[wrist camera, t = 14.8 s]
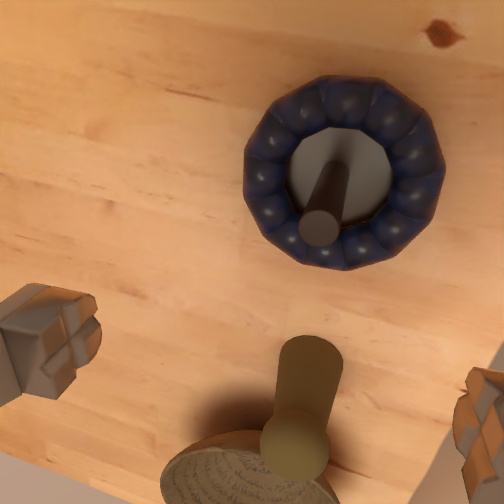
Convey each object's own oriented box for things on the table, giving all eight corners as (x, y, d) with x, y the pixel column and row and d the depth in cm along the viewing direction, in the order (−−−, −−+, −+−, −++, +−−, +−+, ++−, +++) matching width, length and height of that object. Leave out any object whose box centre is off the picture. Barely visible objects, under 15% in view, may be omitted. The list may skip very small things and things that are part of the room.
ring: (219, 130, 28) (204, 137, 26) (400, 33, 23) (404, 30, 20) (293, 277, 32) (286, 296, 29) (463, 224, 26) (473, 242, 24)
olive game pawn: (282, 329, 36) (250, 427, 26) (348, 343, 35) (339, 451, 25) (277, 377, 39) (247, 481, 29) (338, 391, 37) (327, 505, 28)
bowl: (334, 516, 46) (327, 596, 39) (191, 471, 50) (162, 537, 43) (363, 409, 37) (362, 488, 31) (188, 365, 41) (152, 426, 34)
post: (264, 143, 29) (212, 186, 19) (370, 92, 25) (369, 113, 16) (308, 235, 31) (280, 314, 22) (409, 199, 28) (430, 274, 18)
